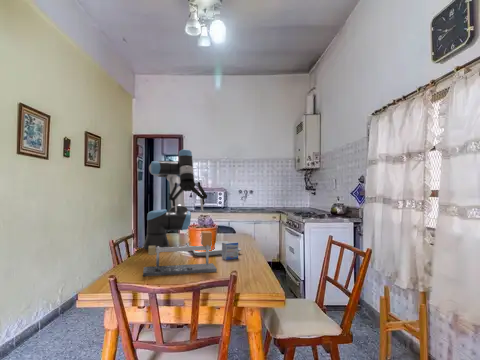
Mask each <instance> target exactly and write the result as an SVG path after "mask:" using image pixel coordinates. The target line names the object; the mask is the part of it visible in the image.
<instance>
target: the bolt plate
mask: <svg viewBox="0 0 480 360" xmlns="http://www.w3.org/2000/svg"><path fill="white" fill-rule="evenodd" d="M217 269H218V268H217V267H216V266H215V264H214V263H212V262H211V263H209V262H208V266H206V263H195V264H175V265H159V268H158V269H157V268H156V265H155V266H153V265H152V266H144V267H143V271H142V273H143V274H142V277H156V276H159V277H160V276H172V275H173V276H174V275H176V276H177V275H187V274H188V275H189V274H191V273H192V274H205V273H218V272H217Z"/></svg>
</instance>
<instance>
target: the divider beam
mask: <svg viewBox="0 0 480 360" xmlns="http://www.w3.org/2000/svg"><path fill="white" fill-rule="evenodd" d="M193 250H206V246H187V245H186V246H185V245H183V246H169V247H159V246H157V247H156V246H149V248H148V250H147V251H148V254H147V255H148V256H156V258H155V260H156V261H155V262H156V263H155V266H156V268H157V269H158V268H159V266H160V253H163V252H164V253H165V252H166V253H167V252H190V251H192V252H193ZM209 250H211V246H209Z"/></svg>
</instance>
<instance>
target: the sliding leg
mask: <svg viewBox="0 0 480 360" xmlns="http://www.w3.org/2000/svg"><path fill="white" fill-rule="evenodd" d="M212 241H213V233H212V231H210V230H203V231H201V241H200V242H201V244H202V245H203V246H206V256H205V264H206V266H208V264H209V258H210V256H209V246H212Z"/></svg>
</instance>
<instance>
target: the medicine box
mask: <svg viewBox="0 0 480 360" xmlns="http://www.w3.org/2000/svg"><path fill="white" fill-rule="evenodd" d="M238 247H239V242H238V241H228V242H226V243H222V255H221V258H222V260H225V261H229V260H230V261H231V260H236V259H239V252H238Z"/></svg>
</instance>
